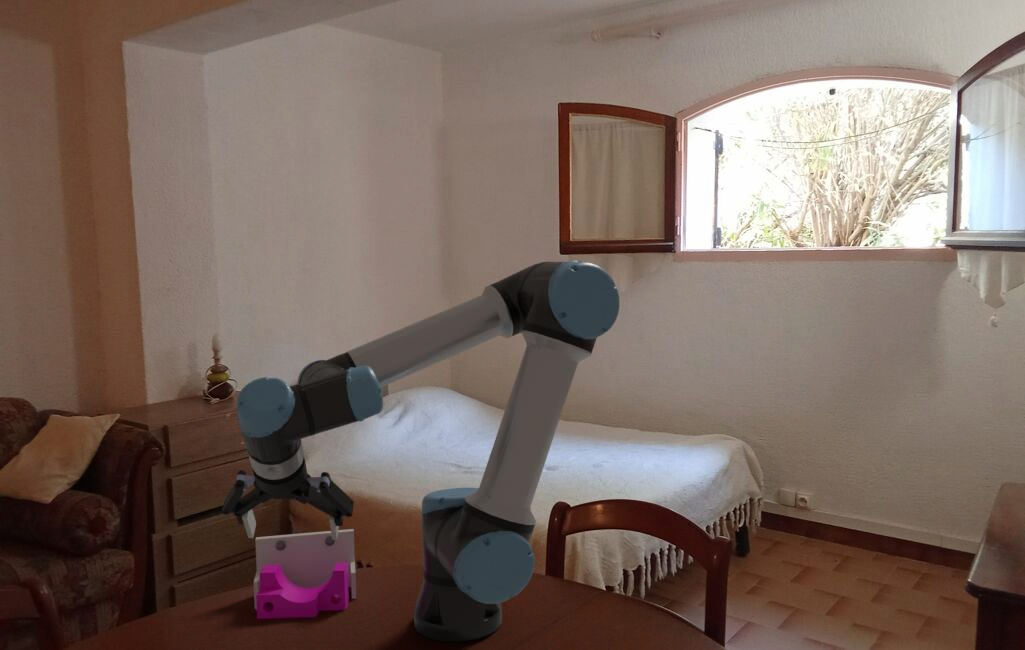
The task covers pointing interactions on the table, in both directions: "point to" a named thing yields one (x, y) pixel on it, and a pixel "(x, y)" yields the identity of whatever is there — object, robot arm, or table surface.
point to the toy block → (300, 594)
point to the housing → (307, 557)
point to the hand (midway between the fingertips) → (294, 531)
